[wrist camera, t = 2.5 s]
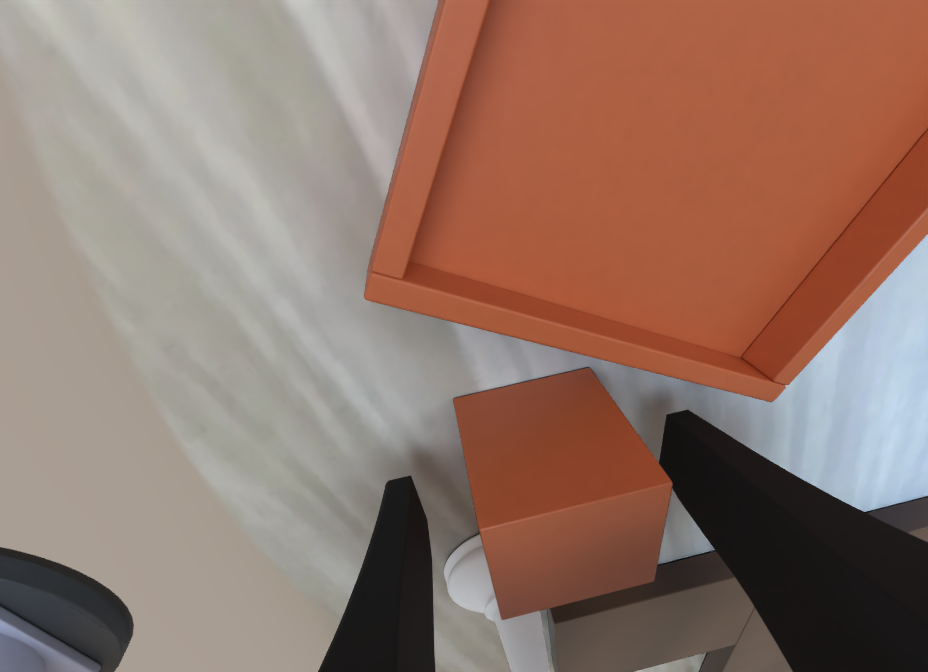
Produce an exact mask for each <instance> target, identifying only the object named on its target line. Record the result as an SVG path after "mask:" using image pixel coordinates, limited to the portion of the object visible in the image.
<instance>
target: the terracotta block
mask: <svg viewBox="0 0 928 672" xmlns="http://www.w3.org/2000/svg"><path fill="white" fill-rule="evenodd" d="M453 402H454V407H455V412H456V417H457V422H458V428H459V433H460V438H461V443H462V448H463V453H464V458H465V463H466V468H467V473H468V478H469V483H470V488H471V493H472V499H473V504H474V509H475V514H476V519H477V524H478V529H479V533H480V537H481V541H482V545H483V549H484V553H485V557H486V561H487V565H488V569H489V573H490V577H491V581H492V585H493V589H494V593H495V597H496V601H497V605H498V608H499V612H500V616H501V619H502V620H506V619H509V618H513V617H517V616H521V615H525V614H529V613H533V612H537V611H541V610H545V609H549V608H552V607H556V606H560V605H564V604H568V603H572V602H576V601H580V600H584V599H588V598H591V597H595V596H599V595H603V594H607V593H611V592H615V591H619V590H623V589H627V588H631V587H634V586H638V585H642V584H646V583H650V582H653V581H654V579H655V574H656V569H657V563H658V558H659V553H660V548H661V543H662V537H663V532H664V527H665V522H666V517H667V511H668V506H669V501H670V496H671V490H672V485H673V483H672V481H671V480H670V478H669V477H668V476H667V474H666V473H665V471H664V470H663V469H662V467H661V466H660V464H659V463H658V462H657V460H656V459H655V457H654V456H653V455H652V453H651V452H650V450H649V449H648V448H647V446H646V445H645V444H644V442H643V441H642V439H641V438H640V437H639V435H638V434H637V432H636V431H635V430H634V428H633V427H632V425H631V424H630V423H629V421H628V420H627V419H626V417H625V416H624V414H623V413H622V412H621V410H620V409H619V407H618V406H617V405H616V403H615V402H614V400H613V399H612V398H611V396H610V395H609V394H608V392H607V391H606V389H605V388H604V387H603V385H602V384H601V382H600V381H599V380H598V378H597V377H596V375H595V374H594V373H593V371H592V370H591V368H584V369H580V370H575V371H571V372H567V373H562V374H558V375H554V376H549V377H545V378H541V379H536V380H532V381H528V382H523V383H519V384H515V385H510V386H506V387H502V388H497V389H493V390H489V391H484V392H480V393H476V394H471V395H467V396H463V397H458V398H454V399H453Z"/></svg>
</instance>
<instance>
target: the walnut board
mask: <svg viewBox="0 0 928 672" xmlns="http://www.w3.org/2000/svg"><path fill="white" fill-rule="evenodd" d="M867 514H869V515H871V516H873V517H875V518H877V519H879V520H881V521H883V522H885V523H887V524H889V525H891V526H894V527H896V528H898V529H900V530H902V531H904V532H907V533H909V534H911V535H913V536H915V537H918V538H920V539H922V540H924V541H927V542H928V497H927V498H923V499H919V500H915V501H911V502H907V503H903V504H899V505H895V506H891V507H887V508H883V509H880V510H876V511H872V512H868V513H867ZM547 613H548V622H549V632H550V641H551V650H552V659H553V667H554V670H555V672H634V671H637V670H641V669H645V668H649V667H653V666H656V665H660V664H664V663H668V662H671V661H675V660H679V659H683V658H686V657H690V656H694V655H698V654H702V653H705V652H708V653H707V656H706V658H705V660H704V663H703V665H702V668H701V670H700V672H793V671H792V670H791V668H790V666H789V664H788V663H787V661H786V659H785V657H784V656H783V654H782V652H781V651H780V649H779V647H778V645H777V644H776V642H775V640H774V638H773V637H772V635H771V633H770V632H769V630H768V628H767V627H766V625H765V624H764V622H763V620H762V619H761V617H760V615H759V614H758V612H757V610H756V609H755V607H754V605H753V604H752V602H751V600H750V599H749V597H748V596H747V594H746V593H745V591H744V590H743V588H742V587H741V585H740V584H739V582H738V581H737V579H736V578H735V576H734V575H733V574H732V572H731V571H730V569H729V568H728V567H727V565H726V564H725V563H724V561H723V560H722V558H721V557H720V556H719V554H718V553H717V552H716V551H715V552H711V553H707V554H703V555H699V556H695V557H691V558H687V559H683V560H679V561H676V562H672V563H668V564H664V565H660V566H657V569H656V574H655V579H654V581H653V582H650V583H646V584H642V585H638V586H634V587H631V588H627V589H623V590H619V591H615V592H611V593H607V594H603V595H599V596H595V597H591V598H588V599H584V600H580V601H576V602H572V603H568V604H564V605H560V606H556V607H552V608H549V609H547Z"/></svg>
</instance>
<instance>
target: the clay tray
mask: <svg viewBox="0 0 928 672" xmlns="http://www.w3.org/2000/svg"><path fill="white" fill-rule="evenodd" d="M927 234H928V0H439V1H438V5H437V9H436V12H435V16H434V20H433V24H432V27H431V31H430V35H429V39H428V43H427V46H426V50H425V54H424V58H423V61H422V65H421V69H420V73H419V77H418V80H417V84H416V88H415V92H414V95H413V99H412V103H411V107H410V110H409V114H408V118H407V122H406V126H405V129H404V133H403V137H402V141H401V144H400V148H399V152H398V156H397V160H396V163H395V167H394V171H393V175H392V178H391V182H390V186H389V190H388V194H387V197H386V201H385V205H384V209H383V212H382V216H381V220H380V224H379V228H378V231H377V235H376V239H375V243H374V246H373V250H372V254H371V258H370V262H369V265H368V270H367V278H366V285H365V293H364V298H365V299H366V300H368V301H372V302H376V303H380V304H384V305H388V306H392V307H396V308H400V309H404V310H408V311H412V312H416V313H420V314H424V315H428V316H432V317H436V318H439V319H443V320H447V321H451V322H455V323H459V324H463V325H467V326H471V327H475V328H479V329H483V330H487V331H491V332H495V333H499V334H503V335H507V336H511V337H515V338H519V339H523V340H527V341H531V342H535V343H539V344H543V345H547V346H550V347H554V348H558V349H562V350H566V351H570V352H574V353H578V354H582V355H586V356H590V357H594V358H598V359H602V360H606V361H610V362H614V363H618V364H622V365H626V366H630V367H634V368H638V369H642V370H646V371H650V372H654V373H658V374H661V375H665V376H669V377H673V378H677V379H681V380H685V381H689V382H693V383H697V384H701V385H705V386H709V387H713V388H717V389H721V390H725V391H729V392H733V393H737V394H741V395H745V396H749V397H753V398H757V399H761V400H765V401H769V402H773V401H774V400H775V399H776V398H777V397H778V396H779V395H780V394H781V393H782V391H783V390H784V389H785V388H786V386H785V385H789V384H790V383H791V382H792V381H793V380H794V378H795V377H796V376H797V375H798V374H799V373H800V372H801V371H802V370H803V369H804V368H805V367H806V365H807V364H808V363H809V362H810V361H811V360H812V359H813V358H814V357H815V356H816V355H817V353H818V352H819V351H820V350H821V349H822V348H823V347H824V346H825V345H826V344H827V343H828V342H829V340H830V339H831V338H832V337H833V336H834V335H835V334H836V333H837V332H838V331H839V330H840V329H841V327H842V326H843V325H844V324H845V323H846V322H847V321H848V320H849V319H850V318H851V317H852V315H853V314H854V313H855V312H856V311H857V310H858V309H859V308H860V307H861V306H862V305H863V304H864V302H865V301H866V300H867V299H868V298H869V297H870V296H871V295H872V294H873V293H874V292H875V291H876V289H877V288H878V287H879V286H880V285H881V284H882V283H883V282H884V281H885V280H886V279H887V277H888V276H889V275H890V274H891V273H892V272H893V271H894V270H895V269H896V268H897V267H898V266H899V264H900V263H901V262H902V261H903V260H904V259H905V258H906V257H907V256H908V255H909V254H910V253H911V251H912V250H913V249H914V248H915V247H916V246H917V245H918V244H919V243H920V242H921V241H922V239H923V238H924V237H925V236H926V235H927Z"/></svg>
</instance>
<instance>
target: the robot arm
mask: <svg viewBox="0 0 928 672" xmlns="http://www.w3.org/2000/svg"><path fill="white" fill-rule="evenodd" d="M659 464H660V466H661V467H662V469H663V470H664V471H665V473H666V474H667V476H668V477H669V478H670V480H671V481H672V483H673V485H672V488H673V490H674V492H675V493H676V495H677V497H678V499H679V500H680V501H681V503H682V504H683V506H684V507H685V509H686V510H687V511H688V513H689V514H690V516H691V517H692V518H693V520H694V521H695V523H696V524H697V525H698V527H699V528H700V530H701V531H702V532H703V534H704V535H705V536H706V538H707V539H708V541H709V542H710V543H711V545H712V546H713V547H714V549H715V550H716V552H717V553H718V554H719V556H720V557H721V558H722V560H723V561H724V563H725V564H726V565H727V567H728V568H729V569H730V571H731V572H732V574H733V575H734V576H735V578H736V579H737V581H738V582H739V584H740V585H741V587H742V588H743V590H744V591H745V593H746V594H747V596H748V597H749V599H750V600H751V602H752V604H753V605H754V607H755V609H756V610H757V612H758V614H759V615H760V617H761V619H762V620H763V622H764V624H765V625H766V627H767V628H768V630H769V632H770V633H771V635H772V637H773V638H774V640H775V642H776V644H777V645H778V647H779V649H780V651H781V652H782V654H783V656H784V657H785V659H786V661H787V663H788V664H789V666H790V668H791V670H792V671H793V672H928V542H927V541H924V540H922V539H920V538H918V537H915V536H913V535H911V534H909V533H907V532H904V531H902V530H900V529H898V528H896V527H894V526H891V525H889V524H887V523H885V522H883V521H881V520H879V519H877V518H875V517H873V516H871V515H869V514H867V513H865V512H863V511H861V510H859V509H857V508H855V507H853V506H851V505H849V504H847V503H845V502H843V501H841V500H839V499H837V498H835V497H833V496H831V495H830V494H828V493H826V492H824V491H822V490H820V489H819V488H817V487H815V486H813V485H811V484H809V483H808V482H806V481H804V480H802V479H800V478H799V477H797V476H795V475H793V474H792V473H790V472H788V471H786V470H785V469H783V468H781V467H780V466H778V465H776V464H774V463H773V462H771V461H769V460H768V459H766V458H764V457H763V456H761V455H759V454H758V453H756V452H755V451H753V450H751V449H750V448H748V447H746V446H745V445H743V444H742V443H740V442H738V441H737V440H735V439H734V438H732V437H730V436H729V435H727V434H726V433H724V432H722V431H721V430H719V429H718V428H716V427H714V426H713V425H711V424H710V423H708V422H707V421H705V420H703V419H702V418H700V417H699V416H697V415H695V414H694V413H692V412H690V411H689V410H685V411H680V412H676V413H672V414H668V415H666V422H665V428H664V434H663V441H662V447H661V454H660V460H659ZM100 669H101V665H100V664H99V663H98V662H96V661H95V660H93V659H91V658H89V657H88V656H86V655H84V654H83V653H81V652H79V651H77V650H76V649H74V648H72V647H71V646H69V645H67V644H65V643H64V642H62V641H60V640H59V639H57V638H55V637H54V636H52V635H50V634H48V633H47V632H45V631H43V630H42V629H40V628H38V627H36V626H35V625H33V624H31V623H30V622H28V621H26V620H24V619H23V618H21V617H19V616H18V615H16V614H14V613H12V612H11V611H9V610H7V609H6V608H4V607H2V606H1V605H0V672H99V671H100ZM318 672H435V657H434V618H433V578H432V555H431V547H430V539H429V531H428V523H427V518H426V515H425V513H424V510H423V507H422V505H421V502H420V499H419V496H418V494H417V491H416V488H415V485H414V483H413V480H412V477H411V476H407V477H402V478H398V479H394V480H390V481H388V482H387V483H386V485H385V490H384V494H383V499H382V503H381V506H380V510H379V514H378V518H377V521H376V524H375V528H374V531H373V534H372V538H371V541H370V544H369V547H368V550H367V553H366V556H365V559H364V562H363V565H362V568H361V570H360V573H359V576H358V579H357V581H356V584H355V586H354V589H353V591H352V594H351V597H350V599H349V602H348V604H347V607H346V610H345V612H344V615H343V617H342V619H341V622H340V624H339V627H338V629H337V631H336V633H335V636H334V638H333V641H332V643H331V645H330V647H329V649H328V651H327V654H326V656H325V658H324V660H323V662H322V664H321V667H320V669H319V671H318Z"/></svg>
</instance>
